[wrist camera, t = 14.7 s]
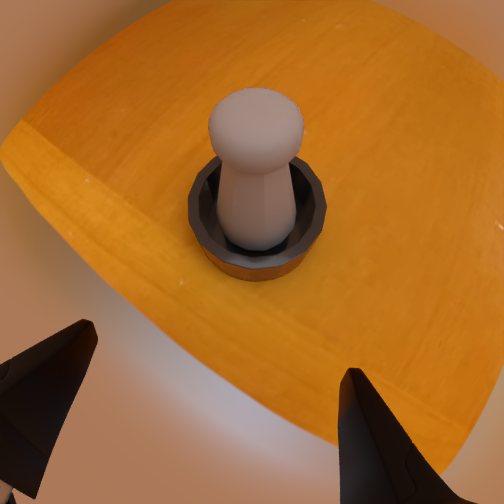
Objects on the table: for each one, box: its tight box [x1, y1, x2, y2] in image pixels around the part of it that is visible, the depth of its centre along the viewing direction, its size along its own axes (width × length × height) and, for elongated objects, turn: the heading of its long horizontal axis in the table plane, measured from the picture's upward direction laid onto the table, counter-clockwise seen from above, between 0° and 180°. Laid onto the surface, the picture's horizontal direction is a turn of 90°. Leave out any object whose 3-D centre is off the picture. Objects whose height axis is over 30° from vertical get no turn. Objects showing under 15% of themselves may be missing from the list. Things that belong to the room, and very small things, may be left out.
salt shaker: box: [208, 88, 304, 251], centre depth 17 cm, size 6×6×13 cm
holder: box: [188, 156, 327, 282], centre depth 22 cm, size 10×10×4 cm
